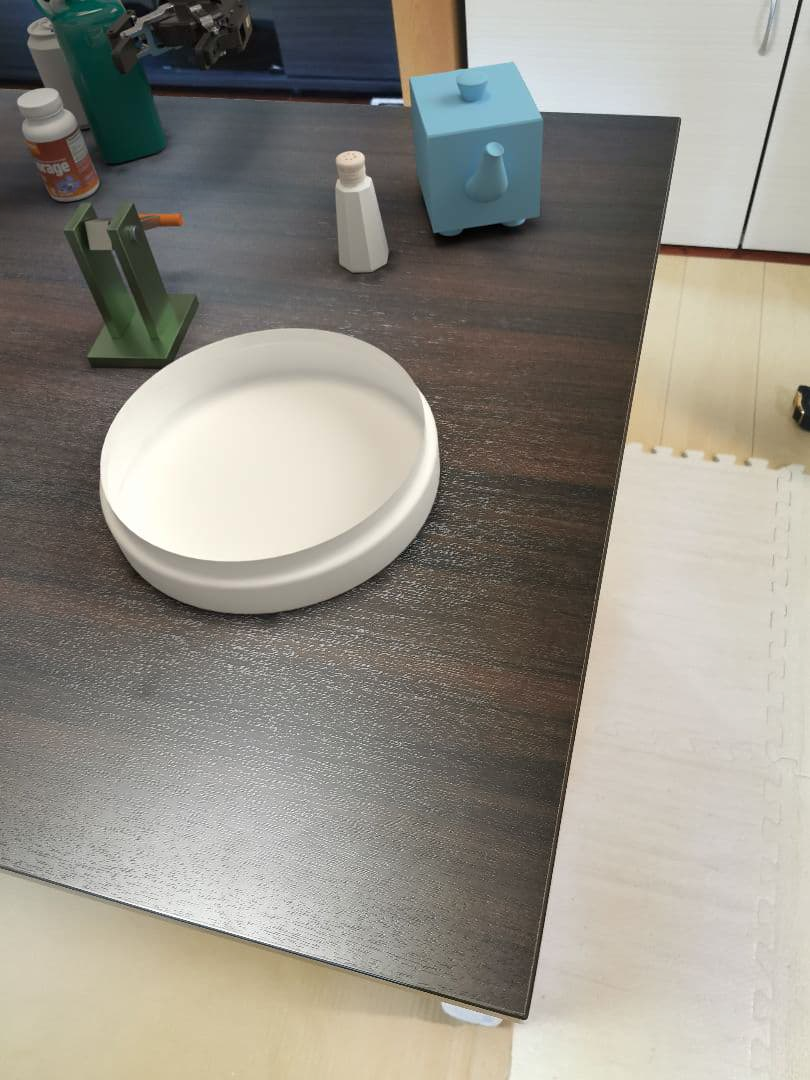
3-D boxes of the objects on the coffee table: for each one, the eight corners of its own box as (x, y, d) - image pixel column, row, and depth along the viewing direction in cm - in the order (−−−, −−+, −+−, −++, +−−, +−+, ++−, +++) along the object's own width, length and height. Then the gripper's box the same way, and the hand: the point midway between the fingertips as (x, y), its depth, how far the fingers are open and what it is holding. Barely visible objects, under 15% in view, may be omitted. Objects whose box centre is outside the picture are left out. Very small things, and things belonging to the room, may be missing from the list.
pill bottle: (40, 201, 102) (-2, 108, 93) (67, 175, 105) (29, 83, 97) (84, 205, 100) (45, 111, 92) (110, 179, 104) (74, 85, 95)
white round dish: (63, 603, 63) (32, 560, 59) (172, 367, 80) (153, 320, 75) (418, 628, 59) (411, 583, 55) (455, 373, 75) (453, 323, 71)
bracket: (125, 303, 87) (77, 186, 77) (199, 303, 86) (159, 184, 76) (91, 366, 81) (33, 248, 71) (169, 368, 80) (122, 248, 70)
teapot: (414, 173, 98) (403, 45, 87) (508, 158, 98) (509, 29, 87) (443, 281, 84) (435, 146, 73) (553, 265, 84) (560, 127, 74)
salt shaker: (396, 266, 87) (385, 162, 78) (346, 279, 86) (329, 176, 77) (381, 239, 90) (369, 137, 81) (333, 251, 89) (315, 150, 81)
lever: (138, 232, 86) (134, 207, 85) (184, 231, 85) (181, 206, 84) (74, 250, 74) (69, 221, 73) (127, 250, 74) (122, 221, 73)
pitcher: (157, 124, 112) (95, -72, 95) (171, 151, 107) (108, -51, 90) (85, 144, 110) (8, -52, 93) (95, 172, 105) (17, -30, 88)
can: (96, 134, 112) (59, 36, 102) (49, 130, 114) (9, 33, 104) (125, 107, 116) (92, 11, 107) (79, 104, 118) (43, 9, 109)
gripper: (132, -38, 91) (78, 25, 81) (258, -47, 89) (218, 17, 79) (155, 37, 97) (107, 104, 87) (273, 31, 95) (238, 98, 85)
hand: (159, 62), depth 83 cm, fingers open, 8 cm apart
